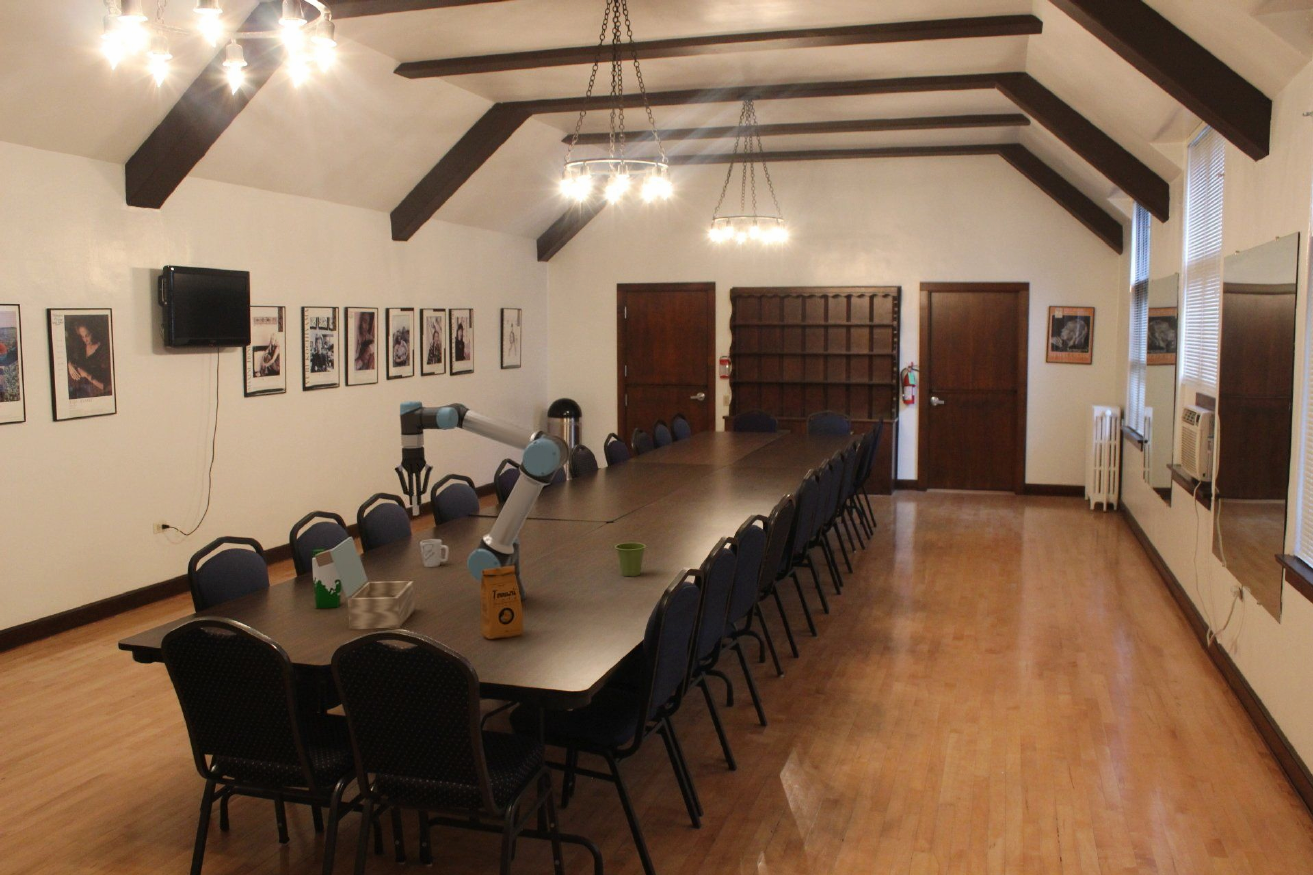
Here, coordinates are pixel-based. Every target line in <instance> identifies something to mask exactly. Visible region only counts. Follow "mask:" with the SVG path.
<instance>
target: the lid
mask: <svg viewBox="0 0 1313 875" xmlns="http://www.w3.org/2000/svg"><path fill="white" fill-rule="evenodd" d="M315 558H316V561H317V564H318V566H319V567H321V566H324V565H327V564H330V563H333V562H334V564H335V567H336V570H337V573H338V575H339V578H340V581H341V587H342V589H343V591H344V594H345V597H346V598H349V597H351V596H352V595H353V594H354V593H355V592H356V591H357V590H358V589H360V588H361V587H362V586H363V585H364V584H365V583H366V582H368V580H369V579H368V577H367V574H366V571H365V568H364V566H363V562H362V560H361V558H360V555H359V552H358V549H357V547H356V544H355V541H354V539H353V536H349V537H348V538H346V539H344V540H343V541H342V542H340V543H339V544H337V545H336V546H335V547H333V548H330V549H328V550H327V549H326V550H325V551H324V552H321V553H318V554H317V555H315Z"/></svg>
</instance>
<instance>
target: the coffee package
mask: <svg viewBox="0 0 1313 875" xmlns="http://www.w3.org/2000/svg"><path fill="white" fill-rule="evenodd" d="M514 572H515V566H508V567H501V568H491V569H484V570H482V574H481V578H482V580H481V581H480V596H479V598H480V622H481V623H480V624H481V635H482V636H484V637H485V638H486V639H489V640H492V639H501V638H511V637H517V636H523V633H524V632H523V631H524V620H523V619H524V618H523V616H524V615H523V606H522V601H521V597H520V593H519V588H518V584H517V580H516V575H515V573H514Z"/></svg>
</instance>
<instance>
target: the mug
mask: <svg viewBox="0 0 1313 875" xmlns="http://www.w3.org/2000/svg"><path fill="white" fill-rule="evenodd" d="M442 543H443V542H442V539H436V538H429V539H424V540H421V541H420V544H419V545H420V553H421V558H422V562H423V566H424V567H425V568H435V567H439V566H440V564H441V563H446V562H447V561H448V558H449V553H450V547H449V546H448V545H444V544H442ZM442 549H444V550H445V554H444V558H443V557H442Z"/></svg>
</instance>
